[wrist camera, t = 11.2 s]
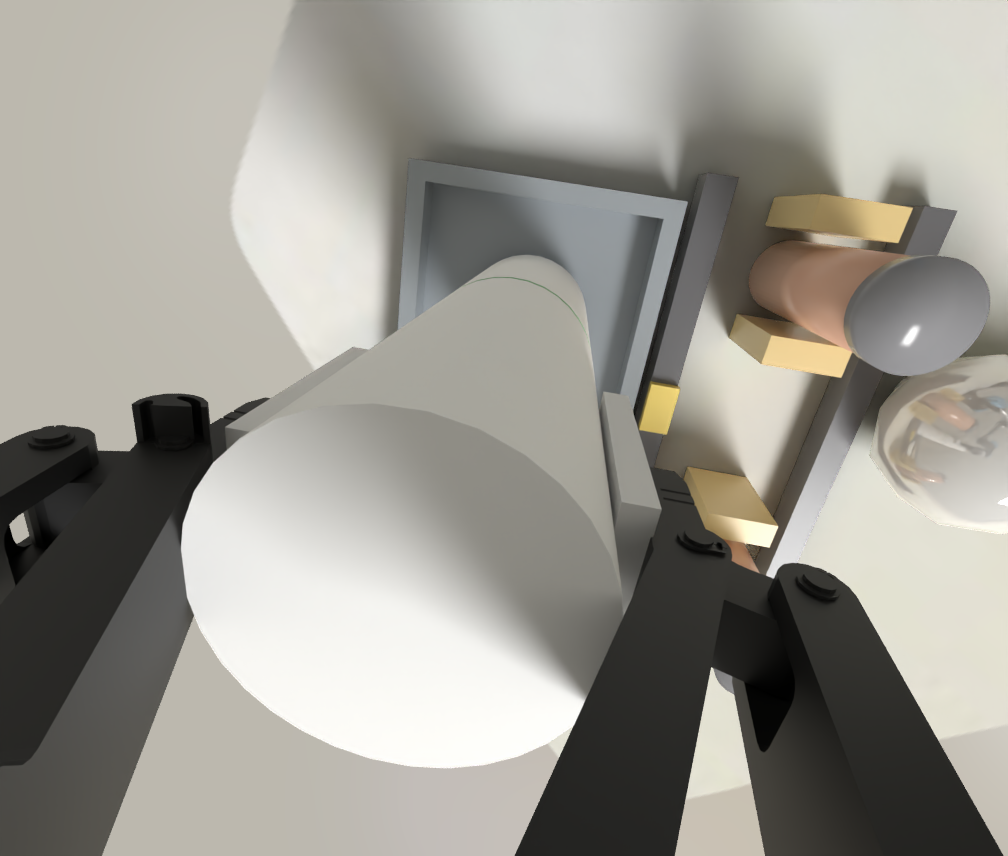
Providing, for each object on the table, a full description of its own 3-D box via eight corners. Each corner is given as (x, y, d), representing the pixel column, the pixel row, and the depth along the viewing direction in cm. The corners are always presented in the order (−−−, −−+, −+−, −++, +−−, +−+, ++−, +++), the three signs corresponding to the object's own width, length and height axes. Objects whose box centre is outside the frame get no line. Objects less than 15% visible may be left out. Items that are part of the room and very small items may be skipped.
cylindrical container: (442, 315, 32) (105, 587, 9) (527, 226, 29) (363, 288, 6) (523, 397, 33) (414, 816, 10) (611, 319, 31) (724, 645, 8)
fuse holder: (698, 175, 29) (727, 166, 24) (932, 210, 28) (1019, 210, 23) (597, 555, 39) (601, 611, 34) (767, 588, 39) (799, 650, 33)
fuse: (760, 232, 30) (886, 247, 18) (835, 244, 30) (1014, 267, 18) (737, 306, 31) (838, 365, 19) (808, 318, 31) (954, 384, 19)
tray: (421, 161, 30) (408, 157, 28) (679, 202, 30) (687, 201, 27) (403, 400, 36) (392, 413, 34) (618, 440, 36) (621, 455, 33)
